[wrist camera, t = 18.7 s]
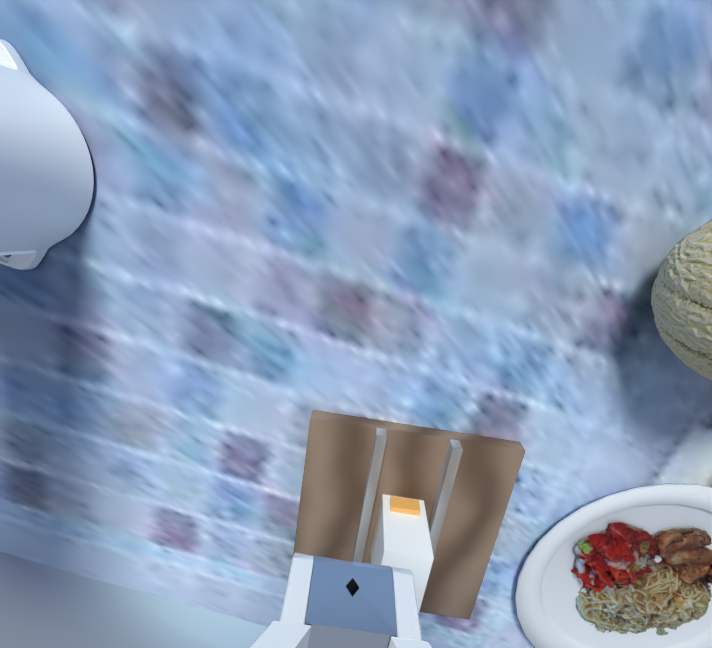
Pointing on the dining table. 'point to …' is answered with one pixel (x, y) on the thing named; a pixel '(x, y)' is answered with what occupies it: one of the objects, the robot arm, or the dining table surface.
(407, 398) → the dining table surface
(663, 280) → the cantaloupe
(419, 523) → the rail module
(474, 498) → the rail panel
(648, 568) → the plated food
